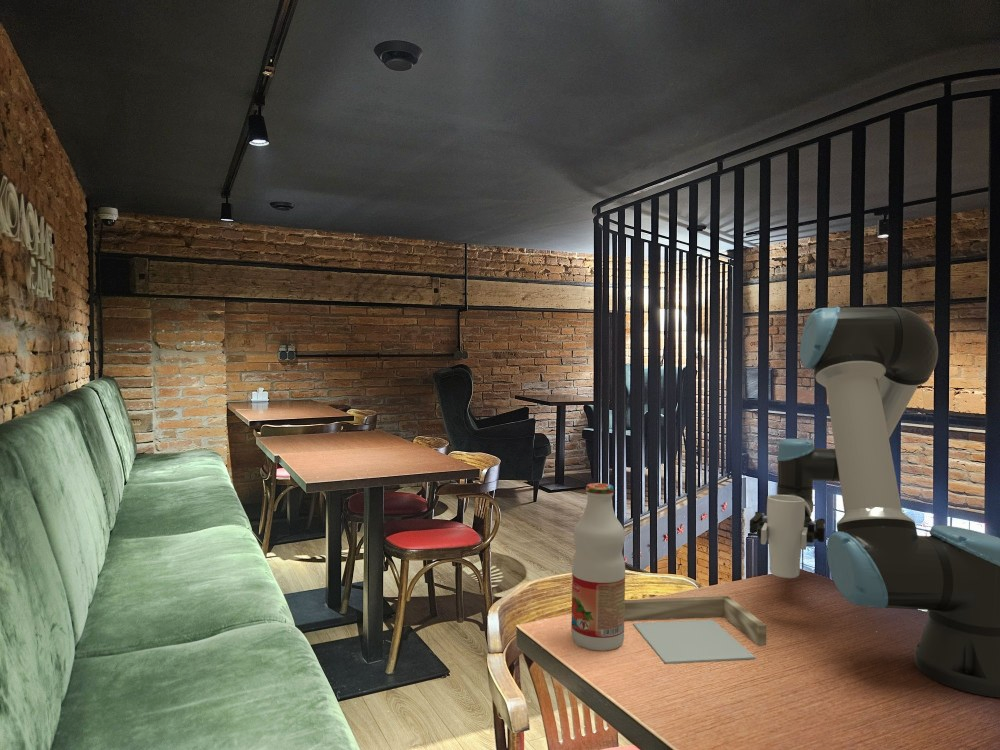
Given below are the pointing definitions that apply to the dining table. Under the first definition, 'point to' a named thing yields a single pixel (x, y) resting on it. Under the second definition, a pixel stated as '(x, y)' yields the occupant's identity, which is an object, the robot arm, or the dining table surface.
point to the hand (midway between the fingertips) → (783, 539)
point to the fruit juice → (598, 574)
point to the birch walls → (698, 612)
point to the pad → (692, 641)
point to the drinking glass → (785, 534)
